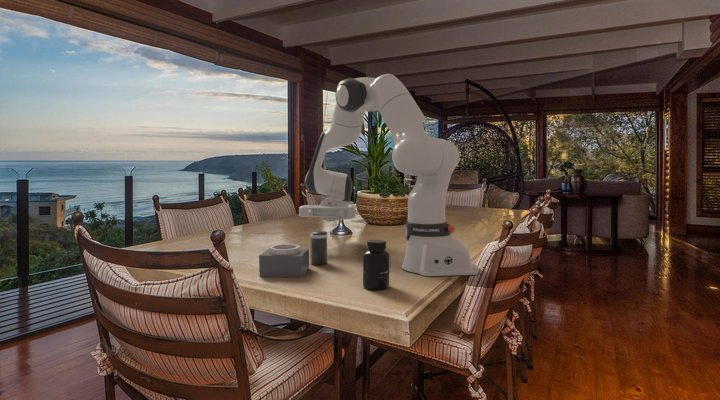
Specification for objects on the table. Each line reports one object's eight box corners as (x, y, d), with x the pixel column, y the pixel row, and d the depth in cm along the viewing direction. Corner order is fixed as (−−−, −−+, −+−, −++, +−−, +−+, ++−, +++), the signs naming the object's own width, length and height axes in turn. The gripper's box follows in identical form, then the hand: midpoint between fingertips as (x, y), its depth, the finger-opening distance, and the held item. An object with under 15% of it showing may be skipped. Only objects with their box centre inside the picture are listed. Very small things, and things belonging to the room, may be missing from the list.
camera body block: (309, 268, 128) (308, 243, 127) (301, 277, 118) (301, 250, 117) (270, 267, 129) (269, 243, 128) (259, 276, 119) (258, 250, 118)
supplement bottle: (387, 291, 105) (387, 244, 104) (360, 290, 107) (360, 243, 105) (391, 283, 112) (391, 239, 111) (365, 282, 113) (365, 238, 112)
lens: (328, 261, 136) (328, 231, 135) (325, 265, 131) (325, 233, 130) (312, 261, 136) (312, 230, 135) (309, 265, 131) (308, 233, 130)
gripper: (303, 200, 159) (294, 204, 145) (357, 201, 157) (353, 205, 143) (303, 216, 159) (294, 222, 146) (357, 218, 158) (353, 224, 144)
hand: (324, 214), depth 145 cm, fingers open, 8 cm apart
